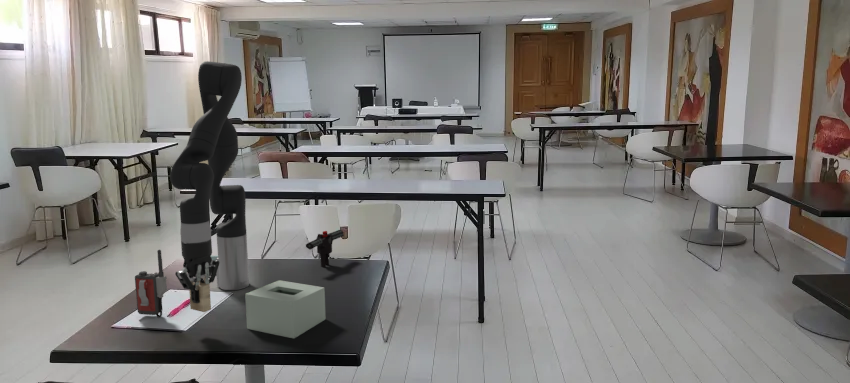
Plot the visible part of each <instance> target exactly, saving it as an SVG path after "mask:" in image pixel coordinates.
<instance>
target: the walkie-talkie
mask: <svg viewBox="0 0 850 383" xmlns="http://www.w3.org/2000/svg"><path fill="white" fill-rule="evenodd" d="M157 262H158V263H157V264H158V272H156V271H155V272H154V273H153V272H152V273H148V271H147V270H144V271H140V272H138V274H137V275H135V276H134V284H135V293H136V294H135V295H136V306H137V307H136V308H137V309H136V310H137V313H138V314H139V315H147V316H156V317H158V318H161V317H162V316H163V300H162V299H163V297H164V294H165V293H166V291H167V290H168V288H167V286H168V285H167V278H168V277H167V275H165V274H164V268H163V258H162V250H161V249H158V250H157Z"/></svg>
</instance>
